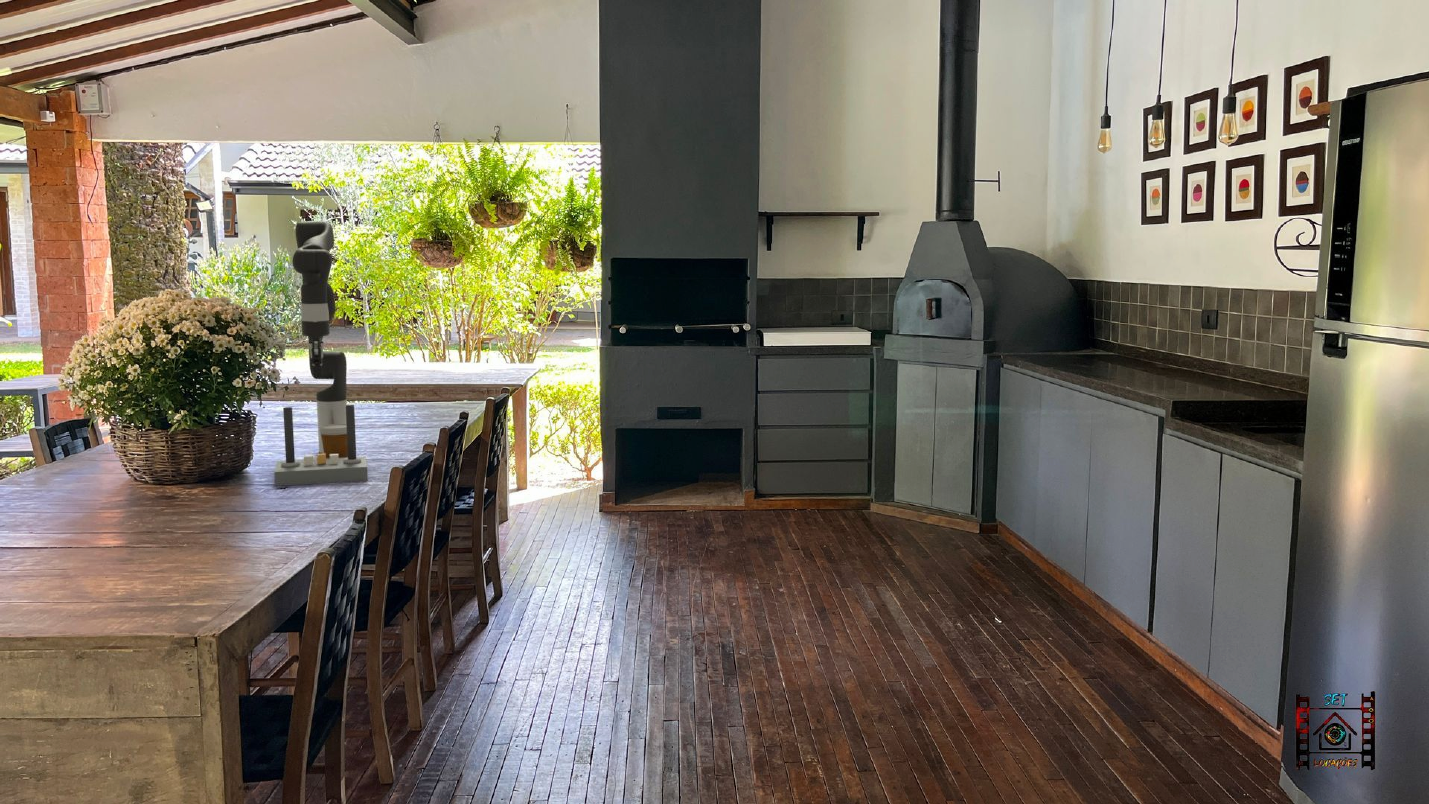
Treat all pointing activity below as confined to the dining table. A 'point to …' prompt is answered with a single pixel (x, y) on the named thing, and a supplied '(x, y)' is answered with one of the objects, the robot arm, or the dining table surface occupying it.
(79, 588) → the dining table surface
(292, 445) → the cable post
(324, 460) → the orange small block
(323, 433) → the disposable coffee cup
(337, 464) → the panel
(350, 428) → the cable post
